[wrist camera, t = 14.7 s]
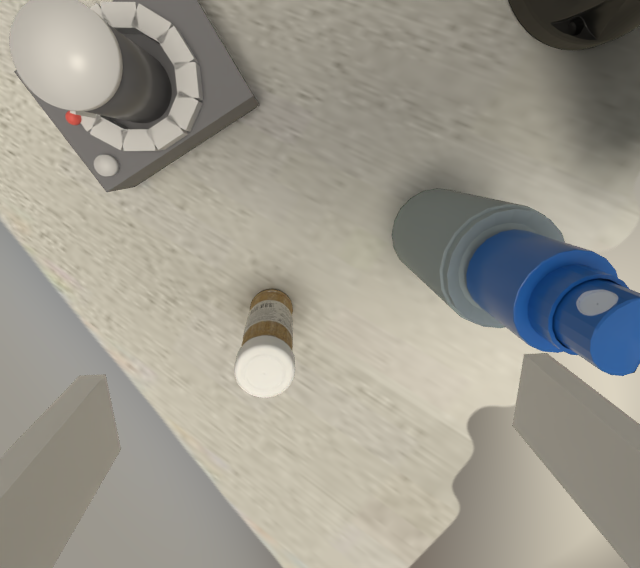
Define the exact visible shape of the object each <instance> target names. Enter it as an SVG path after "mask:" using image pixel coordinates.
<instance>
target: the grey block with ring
mask: <svg viewBox="0 0 640 568" xmlns="http://www.w3.org/2000/svg"><path fill="white" fill-rule="evenodd" d="M100 5H101V6H100ZM100 5H99V4H98V3H96V4H94V5H93V6H91V7H90V9H92V10H93V11H94V12H96V13H97V14H98V15H99V16H100V17H101V18H102V19H103V20H104V21H105V22H106V23H107V24H109V25H110V26H112V27H113V28H114V29H116V30H117V31H118V32H120V33H121V34H123V35H124V36H125V37H127V38H128V39H129V40H131V41H132V42H134V43H135V44H136V45H138V46H139V47H140V48H142V49H143V50H145V51H146V52H147V53H149V54H150V55H151V56H153V57H154V58H155V59H157V60H158V61H159V62H160V63H161V65H162V66H163V67H164V69H165V70H166V72H167V74H168V76H169V79H170V83H171V88H172V95H171V101H170V104H169V107H168V109H167V110H166V112H165V113H164V114H163V115H162V116H161V117H160V118H158V119H157V120H155V121H153V122H149V123H135V122H130V121H126V120H121V119H116V118H112V117H107V116H103V115H98V114H96V118H91V117H86V116H81V115H75V114H72V113H70V110H66V109H61V108H58V107H55V106H53V105H51V104H49V103H47V102H45V101H43V100H42V99H40V98H39V97H38V96H37V95H35V94H34V93H33V92H32V91H31V90H30V89H29V88H28V87H27V86H26V84H25V83H24V82H23V80H22V79H21V77H20V76H19V74H18V72H17V70H16V71H14V72H15V73H16V75H17V76H18V77H19V79H20V80H21V81H22V83H23V84H24V85H25V86H26V88H27V89H28V90H29V92H30V93H31V94H32V96H33V97H34V98H35V99H36V101H37V102H38V103H39V105H40V106H41V107H42V109H43V110H44V111H45V112H46V114H47V115H48V116H49V118H50V119H51V120H52V122H53V123H54V124H55V125H56V127H57V128H58V129H59V131H60V132H61V133H62V135H63V136H64V137H65V139H66V140H67V141H68V142H69V144H70V145H71V146H72V148H73V149H74V150H75V152H76V153H77V154H78V155H79V157H80V158H81V159H82V161H83V162H84V163H85V165H86V166H87V167H88V168H89V170H90V171H91V172H92V174H93V175H94V176H95V178H96V179H97V180H98V181H99V183H100V184H101V185H102V187H103V188H104V189H105V191H106V192H110V191H116V190H121V189H126V188H131V187H135V186H137V185H138V184H140V183H141V182H143V181H144V180H146V179H147V178H149V177H150V176H152V175H154V174H155V173H157V172H158V171H160V170H161V169H163V168H164V167H166V166H167V165H169V164H170V163H172V162H173V161H175V160H176V159H178V158H180V157H181V156H183V155H184V154H186V153H187V152H189V151H190V150H192V149H193V148H195V147H196V146H198V145H199V144H201V143H202V142H204V141H205V140H207V139H209V138H210V137H212V136H213V135H215V134H216V133H218V132H219V131H221V130H222V129H224V128H225V127H227V126H228V125H230V124H231V123H233V122H235V121H236V120H238V119H239V118H241V117H242V116H244V115H245V114H247V113H248V112H250V111H251V110H253V109H254V108H256V107H257V106H259V104H258V102H257V101H256V99H255V97H254V96H253V94H252V92H251V91H250V89H249V87H248V85H247V84H246V82H245V80H244V79H243V77H242V75H241V74H240V72H239V70H238V69H237V67H236V65H235V63H234V62H233V60H232V58H231V57H230V55H229V53H228V52H227V50H226V48H225V47H224V45H223V43H222V41H221V40H220V38H219V36H218V35H217V33H216V31H215V30H214V28H213V26H212V25H211V23H210V21H209V19H208V18H207V16H206V14H205V13H204V11H203V9H202V8H201V6H200V4H199V3H198V1H197V0H113V1H112V2H100Z"/></svg>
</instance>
